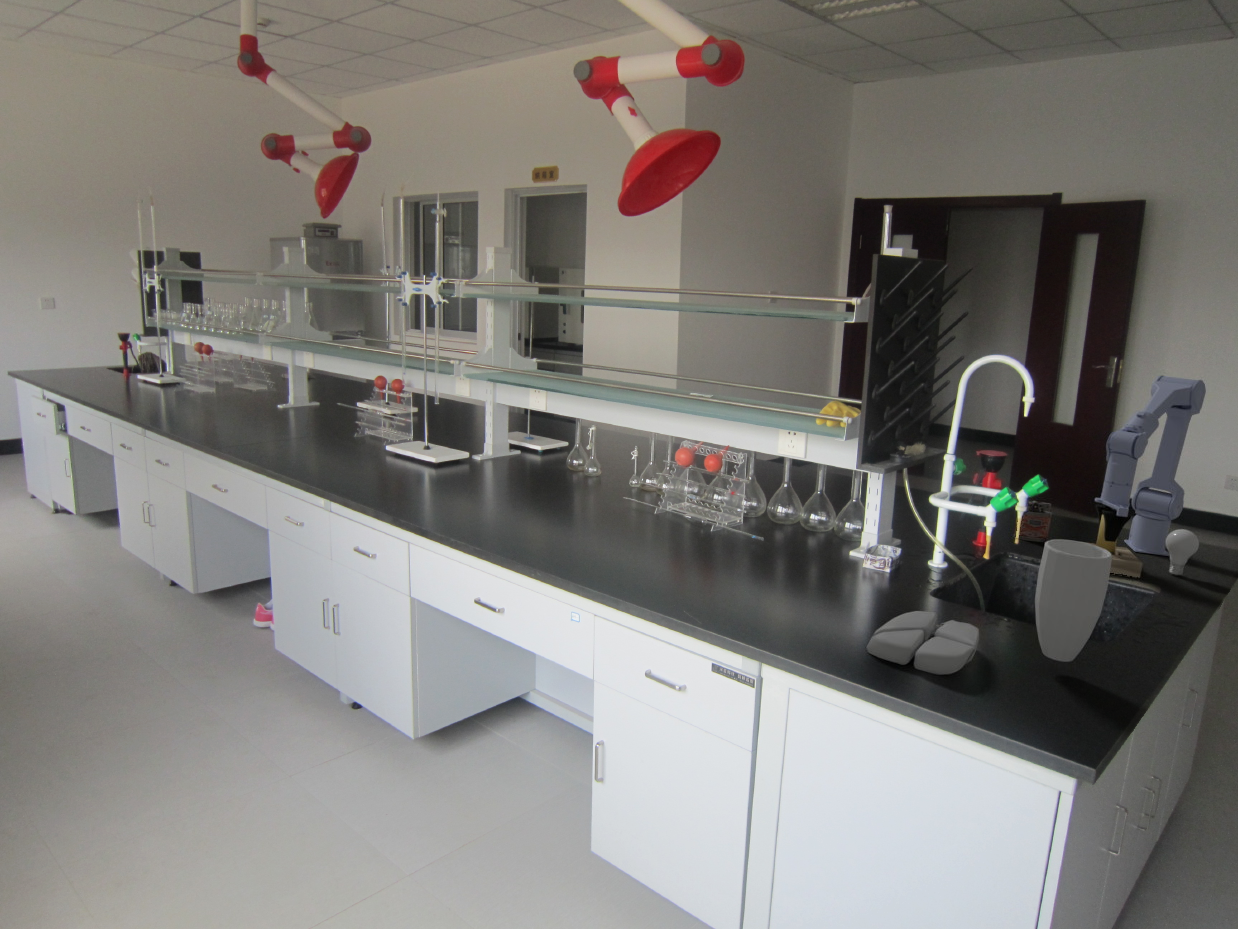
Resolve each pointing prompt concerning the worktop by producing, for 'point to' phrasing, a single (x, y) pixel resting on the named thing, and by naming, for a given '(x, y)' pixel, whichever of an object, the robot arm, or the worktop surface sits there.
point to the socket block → (1124, 562)
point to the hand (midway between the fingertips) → (1107, 538)
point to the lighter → (1035, 522)
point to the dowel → (1101, 540)
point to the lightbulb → (1180, 549)
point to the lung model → (925, 642)
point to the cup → (1069, 596)
